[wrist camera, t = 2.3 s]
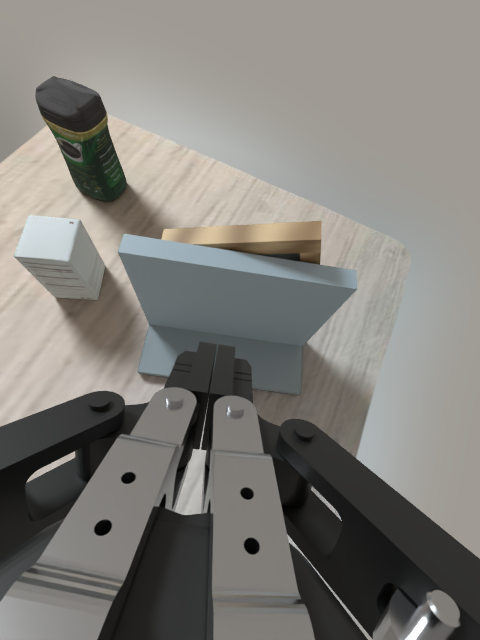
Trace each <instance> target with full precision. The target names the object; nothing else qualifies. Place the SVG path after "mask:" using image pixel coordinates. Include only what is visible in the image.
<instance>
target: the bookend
mask: <svg viewBox="0 0 480 640" xmlns="http://www.w3.org/2000/svg"><path fill="white" fill-rule="evenodd" d="M118 253H119V256H120V258H121V260H122V263H123V265H124V267H125V270H126V272H127V274H128V276H129V279H130V281H131V283H132V286H133V288H134V290H135V293H136V295H137V297H138V300H139V302H140V304H141V307H142V309H143V311H144V313H145V316H146V318H147V320H148V323H149V327H148V331H147V335H146V339H145V343H144V347H143V351H142V355H141V359H140V363H139V368H138V373H139V374H145V375H153V376H160V377H168V378H169V375H170V373H171V371H172V368H173V366H174V364H175V361H176V359H177V356H178V355H180V354H181V353H183V352H184V351H191V352H197V349H198V346H199V342H200V341H203V342H209V343H216V344H217V348H216V355H217V350H218V344H223V345H229V346H235V358H238V359H245V360H247V361H248V363H249V364H250V366H251V368H252V389H257V390H264V391H272V392H279V393H287V394H294V395H299V394H301V374H302V346H303V345H304V344H305V343H306V342H307V341H308V340H309V339H310V338H311V337H312V336H313V335H314V334H315V333H316V332H317V331H318V330H319V329H320V327H321V326H322V325H323V324H324V323H325V322H326V321H327V320H328V319H329V318H330V317H331V316H332V315H333V314H334V313H335V312H336V311H337V310H338V309H339V308H340V307H341V306H342V304H343V303H344V302H345V301H346V300H347V299H348V298H349V297H350V296H351V295H352V294H353V293H354V292H355V291H356V290H357V274H356V270H350V269H343V268H337V267H331V266H324V265H318V264H312V263H306V262H299V261H293V260H287V259H280V258H274V257H268V256H262V255H255V254H249V253H243V252H236V251H230V250H224V249H218V248H211V247H205V246H199V245H192V244H186V243H180V242H174V241H167V240H161V239H155V238H148V237H142V236H136V235H130V234H123V238H122V241H121V244H120V247H119V250H118ZM216 355H215V361H216ZM215 361H214V366H215ZM213 372H214V368H213ZM212 377H213V375H212ZM211 383H212V381H211Z"/></svg>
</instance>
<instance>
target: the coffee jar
mask: <svg viewBox="0 0 480 640" xmlns="http://www.w3.org/2000/svg"><path fill="white" fill-rule="evenodd" d="M36 101H37V104H38V107H39V110H40V113H41V115H42V117H43V119H44V120H45V122H46V124H47V125H48V127H49V128H50V130H51V131H52V133H53V135H54V137H55V138H56V140H57V143H58V145H59V147H60V150H61V152H62V154H63V156H64V159H65V161H66V163H67V166H68V169H69V171H70V174H71V176H72V179H73V181H74V183H75V185H76V187H77V188H78V189H79V190H80V191H82V192H83V193H85V194H87V195H89V196H91V197H93V198H96V199H98V200H101V201H111V200H113V199H115V198H117V197H118V196H119V195H120V194H121V193H122V192H123V191H124V189H125V187H126V184H127V182H126V178H125V175H124V172H123V169H122V167H121V164H120V162H119V159H118V157H117V154H116V151H115V148H114V145H113V142H112V140H111V137H110V134H109V130H108V125H107V121H108V118H107V112H106V110H105V108H104V105H103V102H102V100H101V97H100V95H99V94H98V93H97V92H95V91H94V90H92V89H89V88H87V87H85V86H83V85H81V84H78V83H76V82H73V81H70V80H66V79H62V78H57V77H54V76H53V77H51V78H50V79H48V80H46V81H45V82H44V83H42V84H41V85H40V86H38V87H37V88H36Z"/></svg>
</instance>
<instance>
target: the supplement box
mask: <svg viewBox="0 0 480 640" xmlns="http://www.w3.org/2000/svg"><path fill="white" fill-rule="evenodd" d="M14 257H15V258H16V259H17V260H18V261H19V262H20V263H21V264H22V265H23V266H24V267H25V268H26V269H27V270H28V271H29V272H30V273H31V274H32V275H33V276H34V277H35V278H36V279H37V280H38V281H39V282H40V283H41V284H42V285H43V286H44V287H45V288H46V289H47V290H48V291H49V292H50V293H51V294H52V295H53V296H54V297H58V298H71V299H86V300H98V297H99V293H100V288H101V284H102V279H103V275H104V270H105V264H104V262H103V260H102V258H101V257H100V255H99V253H98V251H97V249H96V248H95V246H94V244H93V242H92V240H91V238H90V237H89V235H88V233H87V231H86V229H85V227H84V226H83V224H82V222H81V220H79V219H68V218H57V217H46V216H34V215H29V216H28V218H27V221H26V224H25V227H24V230H23V232H22V235H21V238H20V241H19V244H18V246H17V249H16V252H15V254H14Z"/></svg>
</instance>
